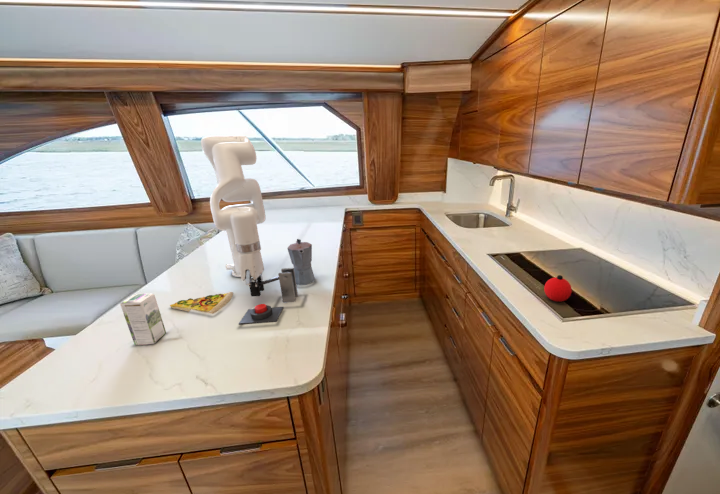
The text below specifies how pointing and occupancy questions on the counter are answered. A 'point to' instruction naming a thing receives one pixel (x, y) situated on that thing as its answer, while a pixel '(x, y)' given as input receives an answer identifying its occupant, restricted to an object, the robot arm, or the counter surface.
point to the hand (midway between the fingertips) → (257, 293)
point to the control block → (261, 316)
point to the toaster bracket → (288, 285)
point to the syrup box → (143, 318)
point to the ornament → (558, 289)
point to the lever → (269, 280)
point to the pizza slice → (204, 303)
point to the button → (260, 308)
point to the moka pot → (302, 262)
